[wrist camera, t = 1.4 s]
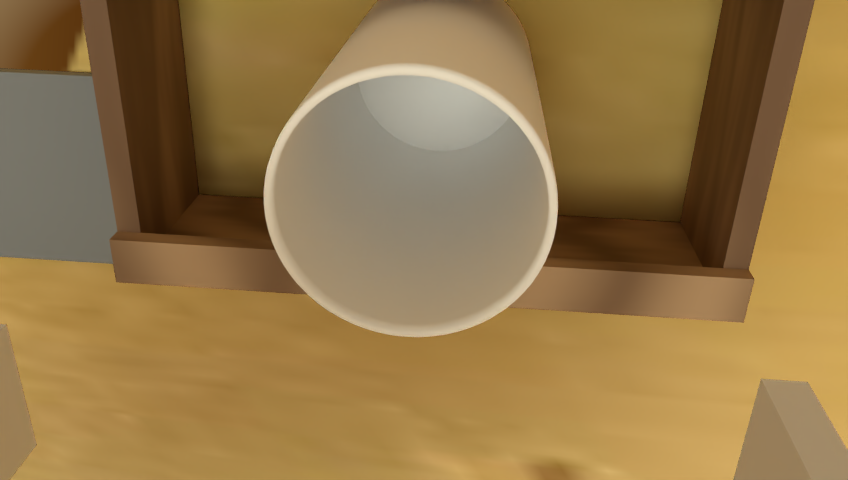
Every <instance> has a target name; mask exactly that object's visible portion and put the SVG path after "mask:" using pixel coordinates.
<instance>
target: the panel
mask: <svg viewBox="0 0 848 480" xmlns="http://www.w3.org/2000/svg"><path fill="white" fill-rule="evenodd" d="M116 232H117V226H116V220H115V213H114V207H113V201H112V195H111V189H110V183H109V177H108V170H107V164H106V158H105V152H104V146H103V140H102V134H101V128H100V121H99V115H98V109H97V103H96V97H95V91H94V85H93V78H92V73H85V72H65V71H45V70H44V71H43V70H25V69H5V68H0V257H14V258H30V259H46V260H62V261H78V262H93V263H109V264H113V260H112V254H111V248H110V242H109V239H110V238H111V237H112V236H113V235H114V234H115V233H116Z"/></svg>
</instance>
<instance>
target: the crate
mask: <svg viewBox="0 0 848 480" xmlns="http://www.w3.org/2000/svg"><path fill="white" fill-rule="evenodd" d="M814 1H815V0H723V4H722V10H721V15H720V20H719V25H718V30H717V35H716V40H715V45H714V51H713V56H712V61H711V66H710V71H709V76H708V81H707V87H706V92H705V97H704V102H703V107H702V112H701V117H700V123H699V128H698V133H697V138H696V143H695V148H694V153H693V158H692V164H691V169H690V174H689V179H688V184H687V189H686V194H685V200H684V205H683V210H682V215H681V220H680V222H667V221H649V220H632V219H615V218H598V217H580V216H563V215H557V225H556V230H555V235H554V239H553V243H552V246H551V249H550V252H549V254H548V256H547V259H546V261H545V263H544V265H543V267H542V268H541V270H540V272H539V274H538V275H537V277H536V278H535V279H534V281H533V282H532V284H531V285H530V286H529V287H528V288H527V289H526V291H525V292H524V293H523V294H522V295H521V296H520V297H519V298H518V299H517V300H516V301H515V302H514V303H512V304H511V305H510V306H508V307H510V308H526V309H541V310H557V311H572V312H588V313H603V314H619V315H634V316H650V317H666V318H681V319H697V320H712V321H728V322H743V323H744V319H745V315H746V311H747V307H748V303H749V299H750V295H751V291H752V287H753V283H754V278H753V276H752V275H751V273H750V271H749V266H750V261H751V257H752V253H753V249H754V245H755V241H756V237H757V233H758V229H759V225H760V221H761V217H762V213H763V209H764V204H765V200H766V196H767V192H768V188H769V184H770V180H771V176H772V172H773V168H774V164H775V160H776V156H777V151H778V147H779V143H780V139H781V135H782V131H783V127H784V123H785V119H786V115H787V111H788V107H789V103H790V98H791V94H792V90H793V86H794V82H795V78H796V74H797V70H798V66H799V62H800V58H801V54H802V50H803V46H804V41H805V37H806V33H807V29H808V25H809V21H810V17H811V13H812V9H813V5H814ZM80 4H81V11H82V17H83V23H84V29H85V35H86V42H87V48H88V54H89V60H90V66H91V72H92V78H93V85H94V91H95V97H96V103H97V109H98V115H99V121H100V128H101V134H102V140H103V146H104V152H105V158H106V164H107V170H108V177H109V183H110V189H111V195H112V201H113V207H114V213H115V220H116V226H117V232H116V233H115V234H114V235H113V236H112V237H111V238H110V239H109V242H110V248H111V254H112V260H113V266H114V272H115V277H116V282H122V283H137V284H153V285H169V286H184V287H200V288H215V289H231V290H246V291H262V292H277V293H293V294H307V293H306V292H305V291H304V290H303V289H302V288H301V287H300V286H299V285H298V284H297V283H296V282H295V280H294V279H293V278H292V277H291V275H290V274H289V272H288V271H287V270H286V268H285V267H284V265H283V263H282V262H281V260H280V258H279V256H278V254H277V252H276V250H275V248H274V245H273V243H272V241H271V237H270V234H269V231H268V228H267V223H266V218H265V210H264V198H252V197H234V196H217V195H200V194H199V190H198V181H197V171H196V162H195V153H194V144H193V134H192V125H191V116H190V107H189V97H188V88H187V79H186V70H185V60H184V51H183V42H182V33H181V23H180V14H179V5H178V0H80Z"/></svg>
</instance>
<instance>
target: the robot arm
mask: <svg viewBox="0 0 848 480" xmlns="http://www.w3.org/2000/svg"><path fill="white" fill-rule="evenodd" d="M36 445H37V444H36V440H35V436H34V432H33V428H32V424H31V420H30V416H29V412H28V408H27V404H26V400H25V396H24V392H23V388H22V384H21V380H20V376H19V372H18V368H17V364H16V360H15V356H14V352H13V348H12V344H11V340H10V336H9V332H8V328H7V325H4V324H0V480H10V479H11V478H12V476H13V475H14V474H15V472H16V471H17V470H18V468H19V467H20V466H21V465H22V463H23V462H24V461H25V459H26V458H27V457H28V455H29V454H30V453H31V452H32V450H33V449H34V448H35V446H36ZM733 480H848V450H847V448H846V447H845V445H844V443H843V441H842V440H841V438H840V436H839V435H838V433H837V431H836V429H835V428H834V426H833V424H832V423H831V421H830V419H829V417H828V416H827V414H826V412H825V411H824V409H823V407H822V405H821V404H820V402H819V400H818V399H817V397H816V395H815V393H814V392H813V390H812V388H811V387H810V385H809V383H808V382H799V381H785V380H771V379H761V381H760V385H759V388H758V392H757V395H756V399H755V403H754V406H753V410H752V414H751V417H750V421H749V425H748V428H747V432H746V435H745V439H744V443H743V446H742V450H741V454H740V457H739V461H738V465H737V468H736V472H735V476H734V479H733Z"/></svg>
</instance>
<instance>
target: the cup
mask: <svg viewBox="0 0 848 480" xmlns="http://www.w3.org/2000/svg"><path fill="white" fill-rule="evenodd" d="M264 210H265V218H266V223H267V228H268V231H269V234H270V237H271V241H272V243H273V245H274V248H275V250H276V252H277V254H278V256H279V258H280V260H281V262H282V263H283V265H284V267H285V268H286V270H287V271H288V272H289V274H290V275H291V277H292V278H293V279H294V280H295V282H296V283H297V284H298V285H299V286H300V287H301V288H302V289H303V290H304V291H305V292H306V293H307V294H308V295H309V296H310V297H311V298H312V299H313V300H315V301H316V302H317V303H318V304H319V305H321V306H322V307H324V308H325V309H327V310H328V311H329V312H331V313H333V314H334V315H336V316H338V317H340V318H341V319H343V320H346V321H348V322H350V323H352V324H354V325H357V326H359V327H362V328H365V329H368V330H371V331H375V332H378V333H383V334H388V335H394V336H403V337H431V336H439V335H445V334H450V333H455V332H458V331H462V330H465V329H468V328H471V327H473V326H476V325H478V324H481V323H483V322H485V321H486V320H488V319H490V318H492V317H494V316H495V315H497V314H499V313H500V312H502V311H503V310H505V309H506V308H507V307H508V306H510V305H511V304H512V303H514V302H515V301H516V300H517V299H518V298H519V297H520V296H521V295H522V294H523V293H524V292H525V291H526V289H527V288H528V287H529V286H530V285H531V284H532V282H533V281H534V279H535V278H536V277H537V275H538V274H539V272H540V270H541V268H542V267H543V265H544V263H545V261H546V259H547V256H548V254H549V252H550V249H551V246H552V243H553V239H554V235H555V230H556V225H557V213H558V190H557V183H556V177H555V171H554V166H553V161H552V156H551V151H550V146H549V141H548V136H547V131H546V126H545V121H544V116H543V111H542V106H541V101H540V96H539V91H538V86H537V81H536V76H535V71H534V66H533V61H532V56H531V51H530V47H529V42H528V39H527V36H526V33H525V31H524V28H523V26H522V24H521V22H520V21H519V19H518V17H517V16H516V14H515V13H514V12H513V10H512V9H511V8H510V7H509V5H508V4H507V3H506V2H505V1H504V0H378V1H377V2H376V4H375V5H374V6H373V7H372V8H371V9H370V11H369V12H368V13H367V15H366V16H365V17H364V19H363V20H362V21H361V23H360V24H359V25H358V27H357V28H356V29H355V31H354V32H353V34H352V35H351V36H350V38H349V39H348V40H347V42H346V43H345V44H344V46H343V47H342V48H341V50H340V51H339V52H338V54H337V55H336V56H335V58H334V59H333V60H332V62H331V63H330V64H329V66H328V67H327V69H326V70H325V71H324V73H323V74H322V75H321V77H320V78H319V79H318V81H317V82H316V83H315V85H314V86H313V87H312V89H311V90H310V91H309V93H308V94H307V95H306V97H305V98H304V99H303V101H302V102H301V104H300V105H299V106H298V108H297V109H296V110H295V112H294V113H293V115H292V116H291V117H290V119H289V120H288V121H287V123H286V125H285V126H284V128H283V129H282V131H281V133H280V135H279V137H278V139H277V141H276V143H275V145H274V148H273V151H272V154H271V157H270V160H269V163H268V166H267V171H266V175H265V183H264Z"/></svg>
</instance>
